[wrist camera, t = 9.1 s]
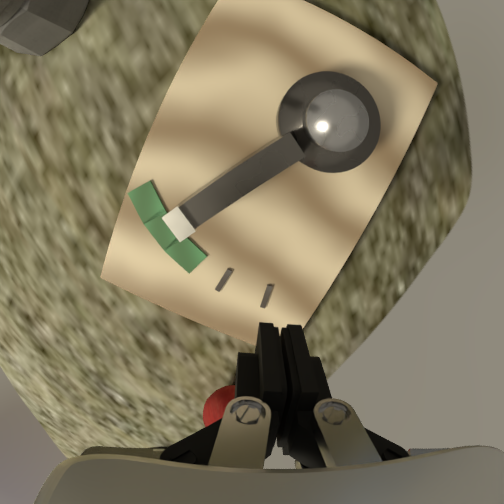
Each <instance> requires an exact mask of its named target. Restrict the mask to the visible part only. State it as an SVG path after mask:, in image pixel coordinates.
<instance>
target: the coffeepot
mask: <svg viewBox="0 0 504 504" xmlns="http://www.w3.org/2000/svg"><path fill="white" fill-rule="evenodd" d="M88 1H89V0H0V44H2V45H4V46H6V47H8V48H9V49H11V50H13V51H15V52H17V53H24V54H30V55H37V56H42V55H44V54H45V53H47V52H48V51H50V50H51V49H53V48H55V47H56V46H58V45H59V44H60V43H61V42H62V41H64V40H65V39H66V38H67V37H68V36H69V35H70V34H72V33H73V31H74V30H75V28H76V27H77V25H78V23H79V22H80V20H81V18H82V17H83V15H84V12H85V10H86V8H87V4H88Z"/></svg>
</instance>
